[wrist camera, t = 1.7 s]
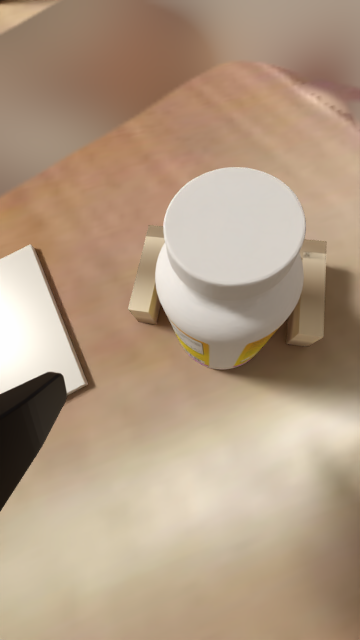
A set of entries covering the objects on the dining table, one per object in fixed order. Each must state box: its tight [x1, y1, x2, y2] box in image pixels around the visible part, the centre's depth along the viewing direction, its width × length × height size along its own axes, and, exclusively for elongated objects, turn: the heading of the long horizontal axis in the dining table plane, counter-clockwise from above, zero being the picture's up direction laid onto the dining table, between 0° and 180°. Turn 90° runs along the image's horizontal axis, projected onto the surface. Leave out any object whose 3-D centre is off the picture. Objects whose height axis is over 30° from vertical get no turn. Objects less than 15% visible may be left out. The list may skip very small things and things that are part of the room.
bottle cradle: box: [128, 225, 327, 347], centre depth 20 cm, size 7×13×3 cm, turn 80°
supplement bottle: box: [155, 167, 306, 369], centre depth 15 cm, size 7×7×13 cm
